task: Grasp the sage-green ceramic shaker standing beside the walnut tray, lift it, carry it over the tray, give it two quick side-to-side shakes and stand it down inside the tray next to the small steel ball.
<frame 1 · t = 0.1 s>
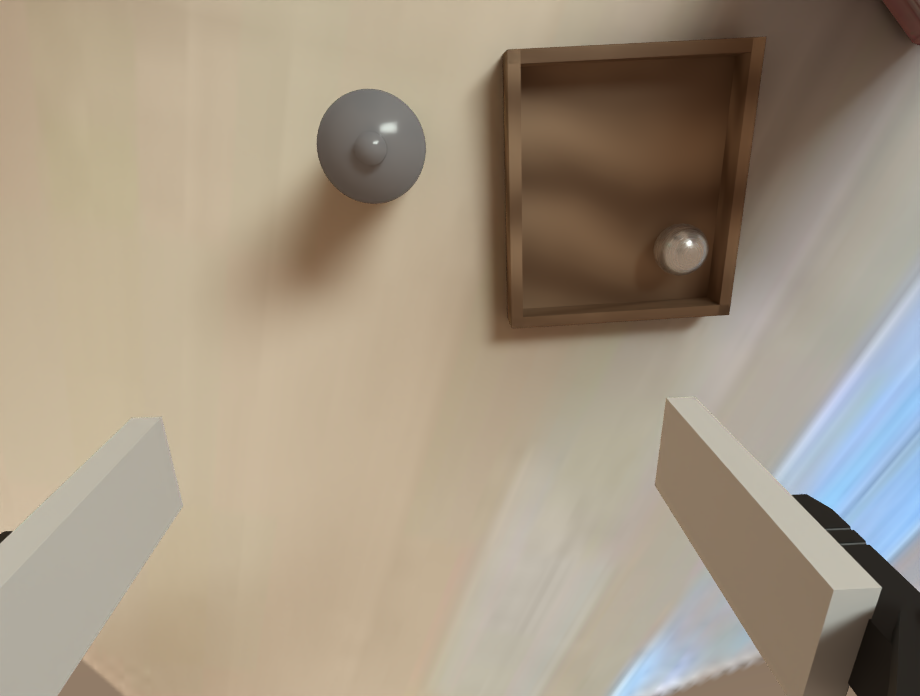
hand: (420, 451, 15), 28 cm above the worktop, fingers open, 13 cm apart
tray: (617, 190, 40), on the worktop
shaker: (386, 143, 38), on the worktop
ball: (670, 244, 41), resting on tray
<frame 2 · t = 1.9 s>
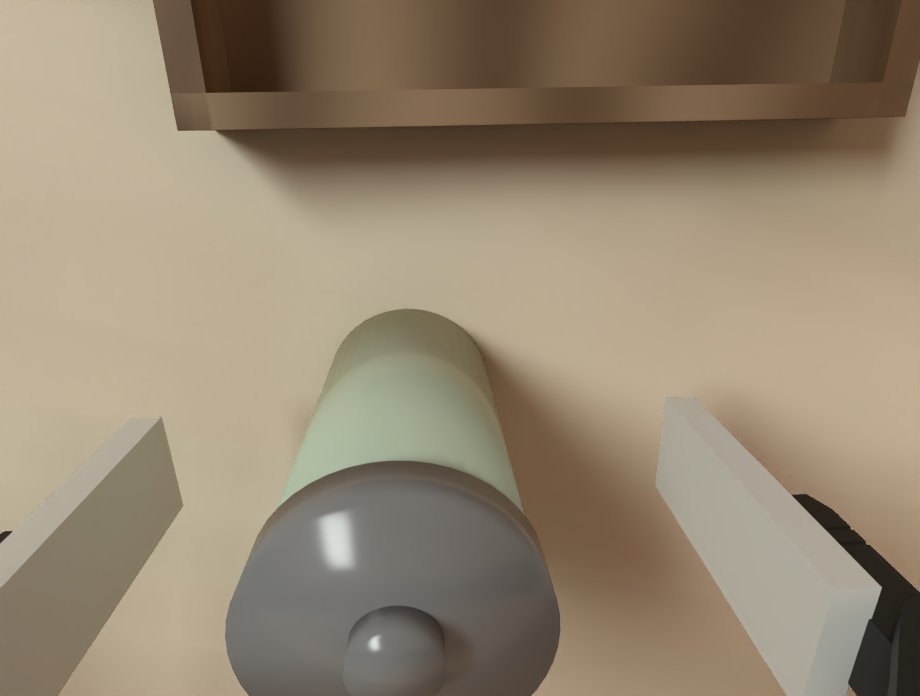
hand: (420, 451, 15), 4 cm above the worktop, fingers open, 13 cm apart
shaker: (409, 383, 19), on the worktop
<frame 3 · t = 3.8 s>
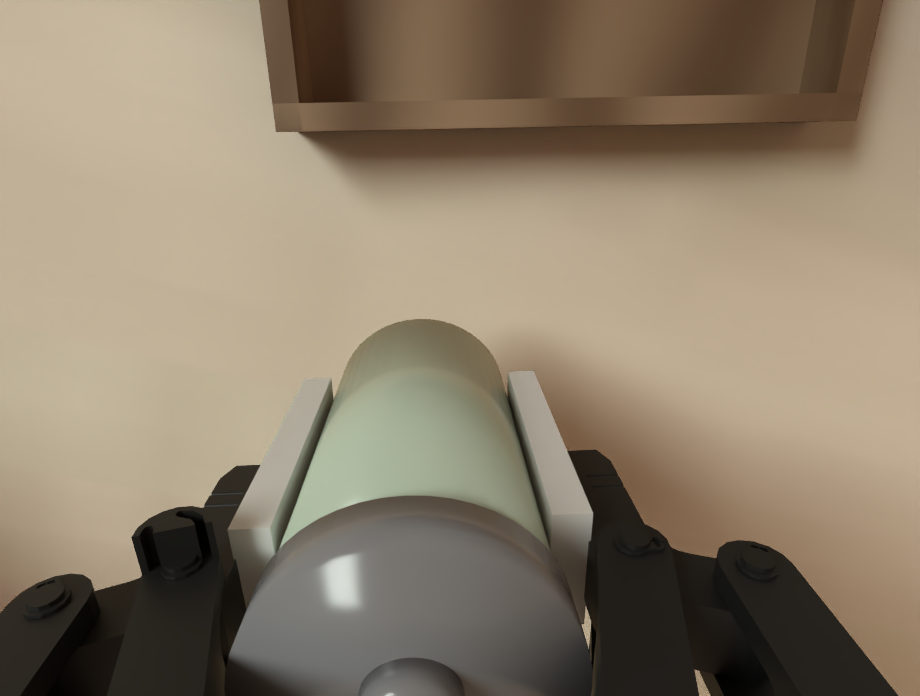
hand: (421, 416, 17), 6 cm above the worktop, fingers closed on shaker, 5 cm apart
shaker: (422, 396, 18), point 5 cm above the worktop, touching gripper
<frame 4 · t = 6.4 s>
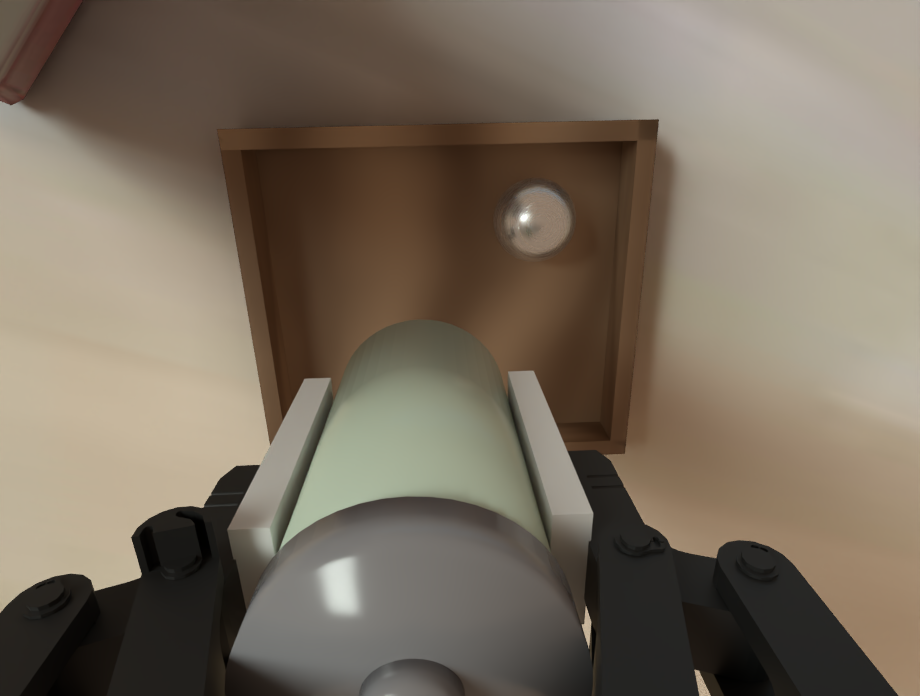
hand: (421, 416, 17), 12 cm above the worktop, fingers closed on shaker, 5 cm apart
tray: (445, 296, 28), on the worktop
shaker: (422, 396, 18), point 11 cm above the worktop, touching gripper
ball: (528, 214, 26), resting on tray
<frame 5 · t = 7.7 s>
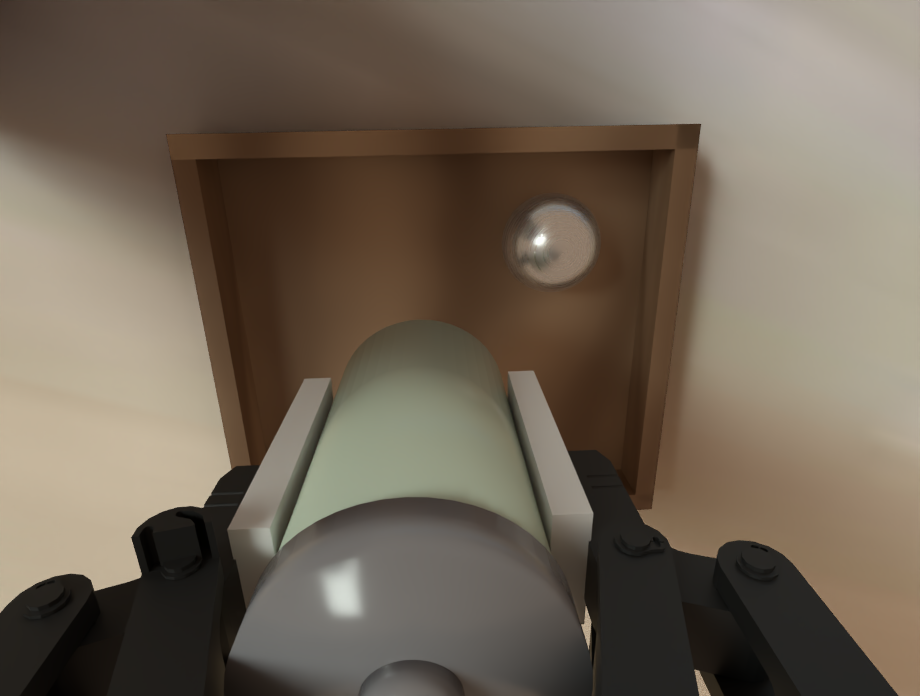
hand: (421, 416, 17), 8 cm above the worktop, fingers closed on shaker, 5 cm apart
tray: (443, 328, 24), on the worktop
shaker: (422, 396, 18), point 7 cm above the worktop, touching gripper
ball: (541, 234, 22), resting on tray
when the fingers open (2 cm above the worktop, at t = 8.9 s): shaker stays where it is, resting on tray.
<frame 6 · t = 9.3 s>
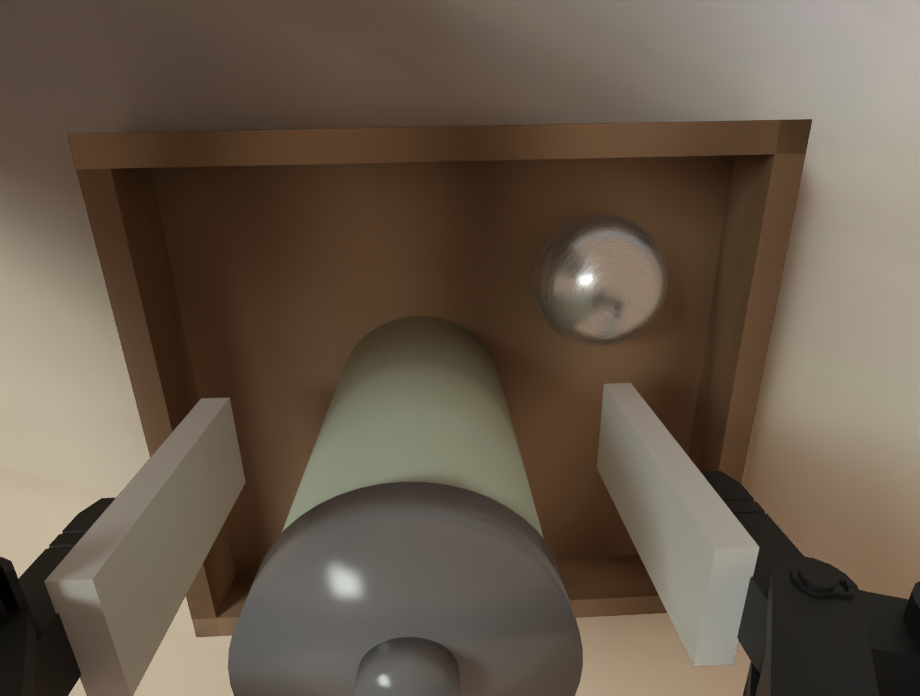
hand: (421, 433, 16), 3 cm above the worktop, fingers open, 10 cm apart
tray: (452, 383, 19), on the worktop
shaker: (421, 391, 18), point 1 cm above the worktop, touching tray
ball: (581, 265, 17), resting on tray
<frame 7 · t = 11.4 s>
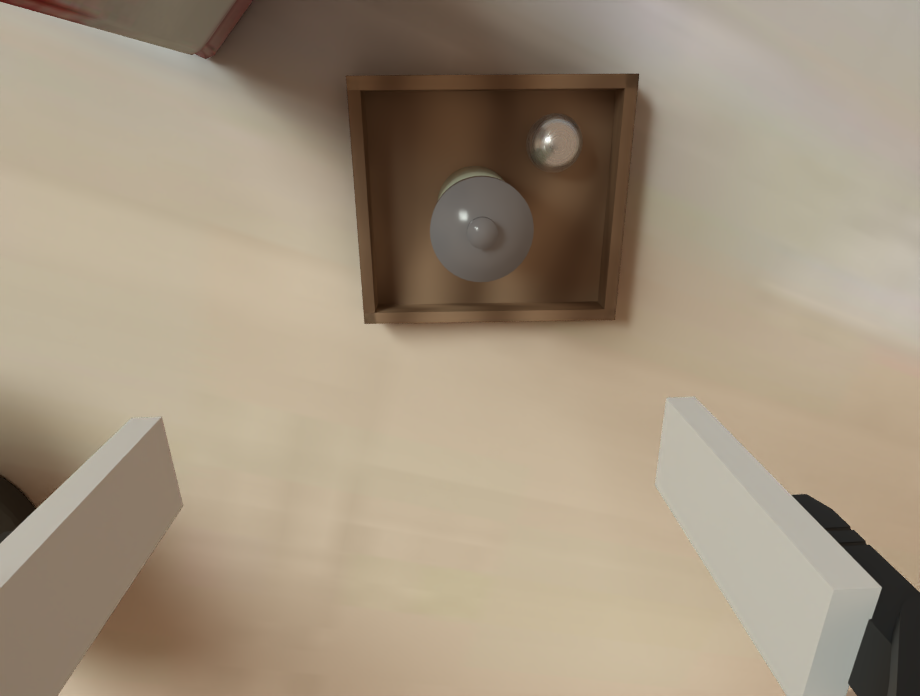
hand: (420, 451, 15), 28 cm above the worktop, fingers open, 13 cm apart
tray: (488, 203, 40), on the worktop
shaker: (474, 204, 39), point 1 cm above the worktop, touching tray
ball: (549, 142, 38), resting on tray
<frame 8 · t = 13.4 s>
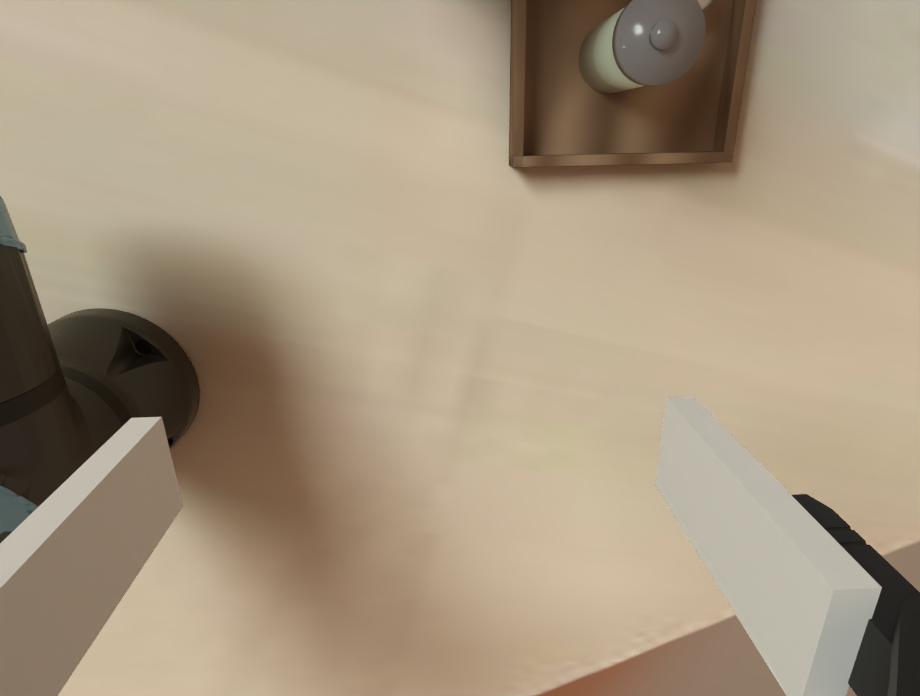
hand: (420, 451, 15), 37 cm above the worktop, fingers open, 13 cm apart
tray: (622, 57, 45), on the worktop
shaker: (611, 57, 44), point 1 cm above the worktop, touching tray
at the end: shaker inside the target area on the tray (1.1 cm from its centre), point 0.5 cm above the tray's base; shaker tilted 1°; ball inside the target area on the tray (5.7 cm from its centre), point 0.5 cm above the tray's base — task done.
